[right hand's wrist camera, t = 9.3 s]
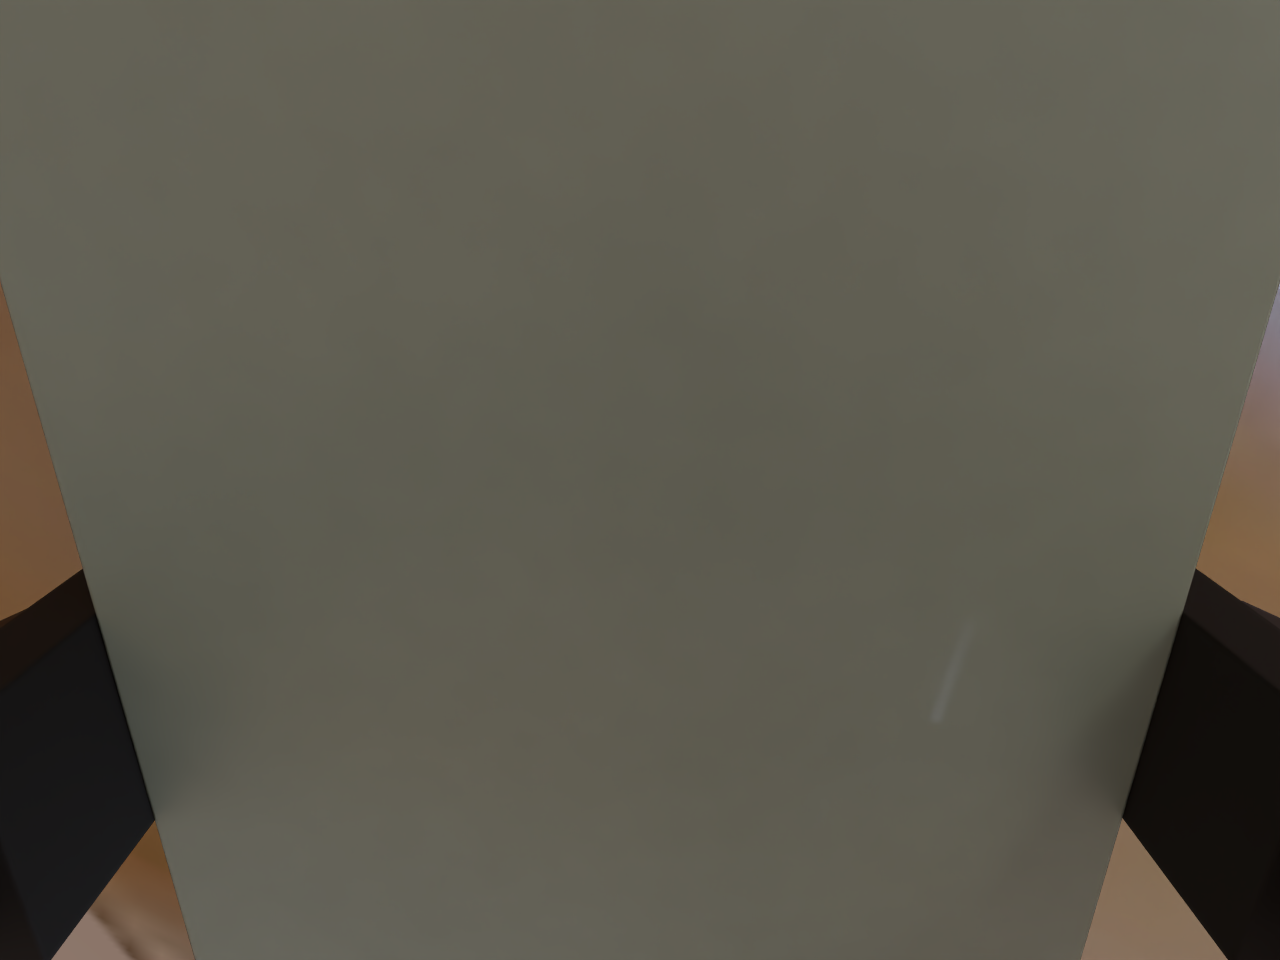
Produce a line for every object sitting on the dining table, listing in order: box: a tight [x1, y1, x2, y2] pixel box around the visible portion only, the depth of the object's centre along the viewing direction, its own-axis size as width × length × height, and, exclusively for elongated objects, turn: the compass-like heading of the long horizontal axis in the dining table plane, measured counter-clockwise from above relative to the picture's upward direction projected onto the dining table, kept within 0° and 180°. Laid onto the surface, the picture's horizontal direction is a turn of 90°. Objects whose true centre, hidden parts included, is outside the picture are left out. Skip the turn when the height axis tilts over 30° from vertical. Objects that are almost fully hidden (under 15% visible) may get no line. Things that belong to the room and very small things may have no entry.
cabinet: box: [0, 0, 1280, 960], centre depth 12 cm, size 18×11×10 cm, turn 0°
